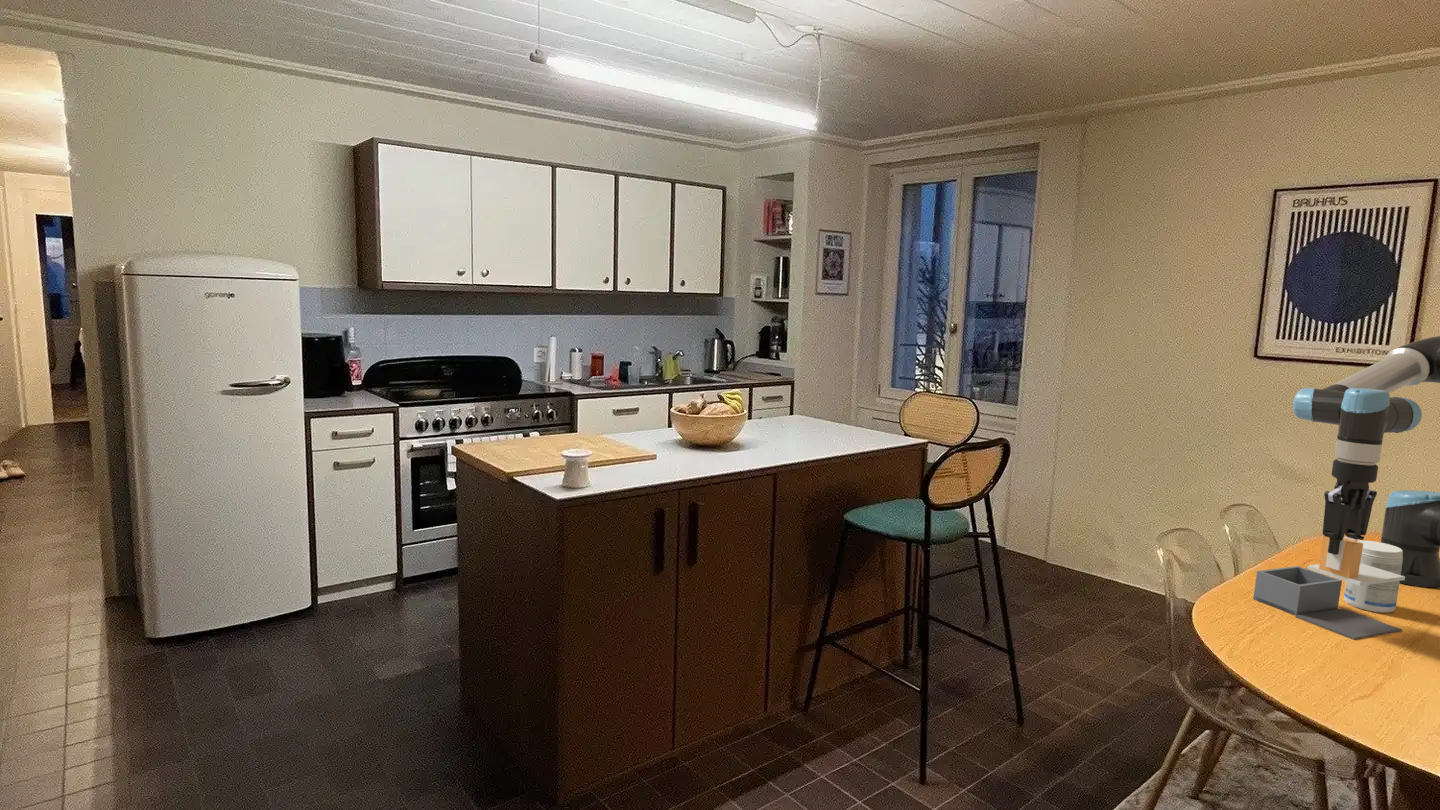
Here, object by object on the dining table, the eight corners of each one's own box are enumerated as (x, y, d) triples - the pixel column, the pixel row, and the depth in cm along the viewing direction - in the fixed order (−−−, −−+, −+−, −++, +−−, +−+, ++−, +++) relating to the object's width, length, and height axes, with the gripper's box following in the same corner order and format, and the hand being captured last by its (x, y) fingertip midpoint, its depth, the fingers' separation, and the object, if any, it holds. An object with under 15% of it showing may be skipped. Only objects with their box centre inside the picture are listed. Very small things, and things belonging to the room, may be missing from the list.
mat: (1342, 609, 183) (1343, 608, 183) (1402, 631, 172) (1402, 629, 172) (1295, 617, 177) (1295, 615, 177) (1353, 639, 166) (1353, 637, 166)
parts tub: (1293, 593, 192) (1297, 565, 191) (1337, 609, 183) (1342, 580, 182) (1253, 599, 188) (1257, 570, 187) (1296, 615, 178) (1300, 586, 177)
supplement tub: (1401, 609, 185) (1411, 548, 183) (1386, 617, 179) (1396, 555, 177) (1351, 595, 193) (1360, 537, 191) (1335, 602, 187) (1344, 542, 185)
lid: (1351, 563, 180) (1357, 528, 179) (1404, 580, 170) (1410, 543, 169) (1307, 568, 175) (1313, 532, 174) (1359, 585, 166) (1366, 547, 164)
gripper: (1361, 456, 174) (1344, 559, 177) (1311, 458, 168) (1295, 564, 171) (1400, 463, 167) (1382, 570, 170) (1350, 466, 161) (1332, 576, 164)
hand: (1339, 567), depth 171 cm, fingers closed on lid, 3 cm apart
